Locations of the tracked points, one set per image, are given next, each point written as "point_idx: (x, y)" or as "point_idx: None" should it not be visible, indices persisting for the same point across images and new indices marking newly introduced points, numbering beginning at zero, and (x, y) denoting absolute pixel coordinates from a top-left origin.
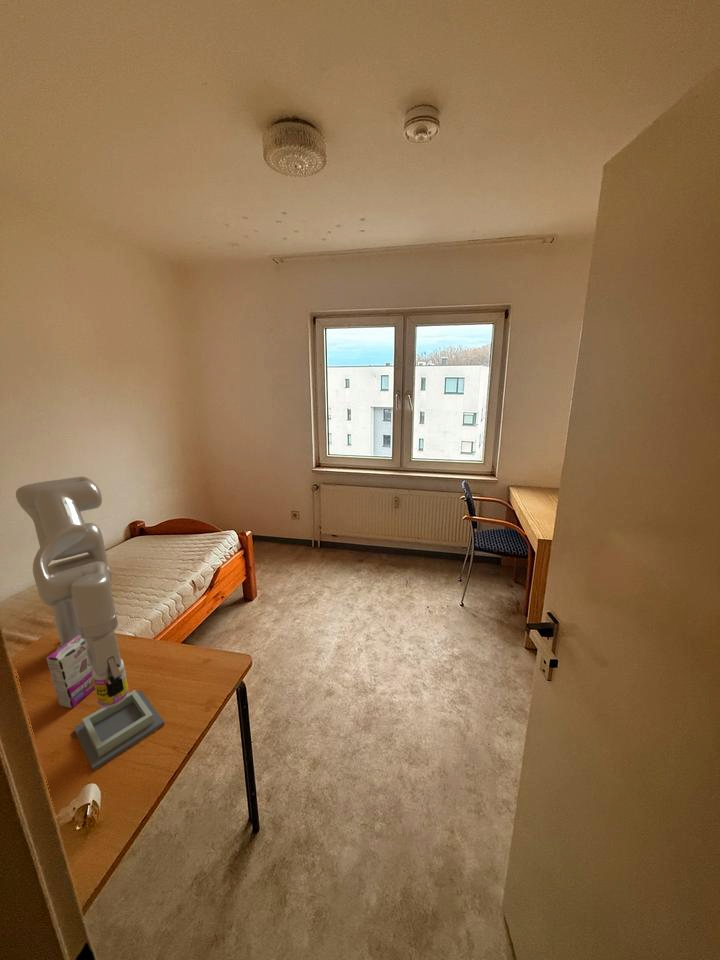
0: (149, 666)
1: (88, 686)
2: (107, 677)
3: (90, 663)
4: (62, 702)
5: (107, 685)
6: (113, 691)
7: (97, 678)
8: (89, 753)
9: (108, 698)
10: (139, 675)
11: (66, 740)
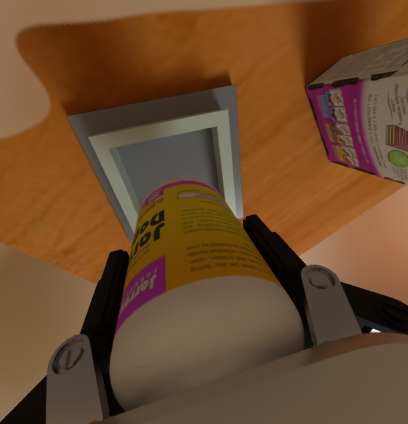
0: (292, 228)
1: (333, 131)
2: (50, 419)
3: (328, 394)
4: (340, 64)
5: (91, 317)
6: (96, 290)
7: (131, 329)
8: (121, 113)
9: (134, 233)
10: (284, 213)
11: (212, 62)
